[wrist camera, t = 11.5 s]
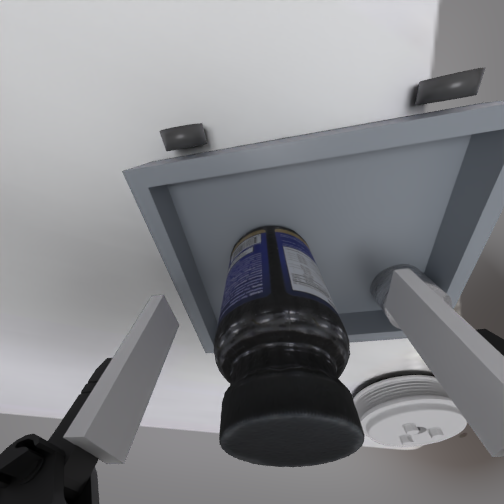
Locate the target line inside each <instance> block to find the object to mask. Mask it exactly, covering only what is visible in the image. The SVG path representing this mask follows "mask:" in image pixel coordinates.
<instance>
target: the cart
mask: <svg viewBox="0 0 504 504" xmlns="http://www.w3.org/2000/svg"><path fill="white" fill-rule="evenodd" d="M484 71H485V68H478V69H473V70H468V71H463V72H458V73H454V74H450V75H445V76H441V77H437V78H432V79H428V80H425V81H421V82H420V83H419V88H418V93H417V98H416V103H415V105H421V104H427V103H433V102H439V101H445V100H451V99H457V98H463V97H468V96H473V95H477V92H478V89H479V86H480V83H481V80H482V77H483V74H484ZM160 134H161V137H162V140H163V143H164V146H165V149H166V151H171V150H177V149H182V148H188V147H193V146H198V145H202V144H206V143H207V141H206V136H205V132H204V128H203V124H202V123H200V124H191V125H185V126H179V127H174V128H169V129H164V130H161V131H160ZM122 172H123V174H124V176H125V179H126V181H127V183H128V185H129V187H130V189H131V192H132V194H133V196H134V198H135V200H136V202H137V205H138V207H139V209H140V211H141V213H142V216H143V218H144V220H145V222H146V224H147V226H148V229H149V231H150V233H151V235H152V237H153V239H154V242H155V244H156V246H157V248H158V250H159V253H160V255H161V257H162V259H163V261H164V263H165V266H166V268H167V270H168V272H169V274H170V276H171V279H172V281H173V283H174V285H175V287H176V290H177V292H178V294H179V296H180V298H181V300H182V303H183V305H184V307H185V309H186V311H187V313H188V316H189V318H190V320H191V322H192V324H193V327H194V329H195V331H196V333H197V335H198V337H199V340H200V342H201V344H202V346H203V348H204V350H205V353H214V340H215V336H216V331H217V326H218V321H219V316H220V310H221V305H222V300H223V295H224V289H225V284H226V279H227V273H228V268H229V263H230V256H231V252H232V250H233V248H234V245H235V244H236V243H237V242H238V241H239V239H240V238H241V237H243V236H244V235H245V234H246V233H248V232H250V231H252V230H253V229H257V228H259V227H265V226H281V227H285V228H288V229H291V230H293V231H295V232H296V233H298V234H299V235H300V236H301V237H302V238H303V239H304V240H305V241H306V243H307V245H308V247H309V249H310V251H311V253H312V256H313V258H314V260H315V262H316V265H317V267H318V269H319V271H320V274H321V276H322V278H323V281H324V283H325V285H326V287H327V290H328V292H329V294H330V296H331V298H332V301H333V303H334V305H335V307H336V310H337V312H338V314H339V316H340V319H341V321H342V323H343V325H344V327H345V330H346V332H347V335H348V339H349V342H362V341H375V340H389V339H402V338H407V337H406V335H405V334H404V332H403V331H402V330H401V329H399V328H396V327H395V326H393V325H392V323H391V322H390V321H389V319H388V318H387V316H386V315H385V313H384V312H383V310H382V309H381V307H380V306H379V305H378V303H377V302H376V300H375V299H374V297H373V296H372V294H371V292H370V286H371V283H372V281H373V279H374V278H375V277H376V276H377V275H378V274H379V273H380V272H382V271H383V270H385V269H387V268H389V267H392V266H395V265H400V264H408V265H413V266H415V267H417V268H418V269H419V270H420V271H422V272H423V273H424V274H425V275H426V276H427V277H428V278H429V279H431V280H432V281H433V282H434V283H435V284H436V285H437V286H439V287H440V288H441V289H442V290H443V291H444V292H445V293H447V294H448V295H449V296H450V298H451V300H452V306H451V308H452V309H454V307H455V305H456V303H457V301H458V299H459V297H460V295H461V293H462V291H463V289H464V287H465V285H466V283H467V281H468V279H469V277H470V275H471V272H472V271H473V268H474V267H475V264H476V262H477V260H478V258H479V256H480V254H481V252H482V250H483V248H484V246H485V244H486V242H487V240H488V238H489V236H490V234H491V232H492V230H493V228H494V226H495V224H496V222H497V220H498V218H499V215H500V214H501V212H502V210H503V208H504V101H496V102H487V103H479V104H474V105H468V106H463V107H457V108H451V109H445V110H440V111H434V112H429V113H423V114H417V115H411V116H406V117H400V118H395V119H389V120H383V121H378V122H372V123H366V124H361V125H355V126H350V127H344V128H338V129H333V130H327V131H321V132H316V133H310V134H305V135H299V136H293V137H288V138H282V139H276V140H271V141H265V142H260V143H254V144H248V145H243V146H237V147H232V148H226V149H220V150H215V151H209V152H203V153H198V154H192V155H187V156H181V157H175V158H170V159H164V160H158V161H153V162H149V163H146V164H143V165H140V166H137V167H134V168H131V169H128V170H124V171H122Z"/></svg>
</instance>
